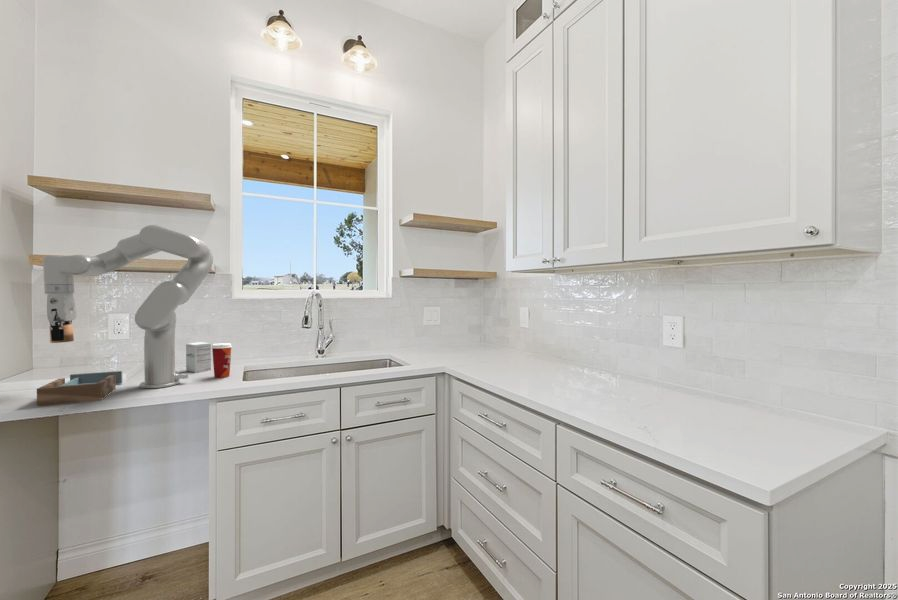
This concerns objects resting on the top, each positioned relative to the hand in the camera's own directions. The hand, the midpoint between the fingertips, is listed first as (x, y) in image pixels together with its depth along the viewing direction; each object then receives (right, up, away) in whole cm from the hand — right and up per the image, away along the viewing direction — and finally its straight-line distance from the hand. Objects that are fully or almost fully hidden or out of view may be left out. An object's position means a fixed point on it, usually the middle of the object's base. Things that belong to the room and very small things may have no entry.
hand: (62, 339), depth 140 cm
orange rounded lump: (0, -1, 0) cm, 1 cm away
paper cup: (+43, -19, +26) cm, 53 cm away
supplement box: (+25, -18, +38) cm, 49 cm away
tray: (+9, -19, +1) cm, 21 cm away
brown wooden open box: (+13, -19, -7) cm, 24 cm away
